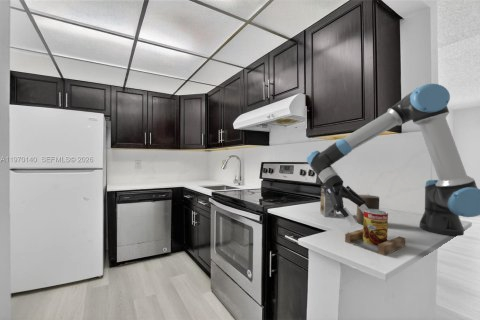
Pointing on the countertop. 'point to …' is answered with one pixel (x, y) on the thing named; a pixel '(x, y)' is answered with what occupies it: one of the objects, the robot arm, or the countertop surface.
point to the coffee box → (326, 204)
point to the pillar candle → (371, 203)
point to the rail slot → (382, 248)
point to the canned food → (375, 226)
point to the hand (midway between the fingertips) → (363, 221)
